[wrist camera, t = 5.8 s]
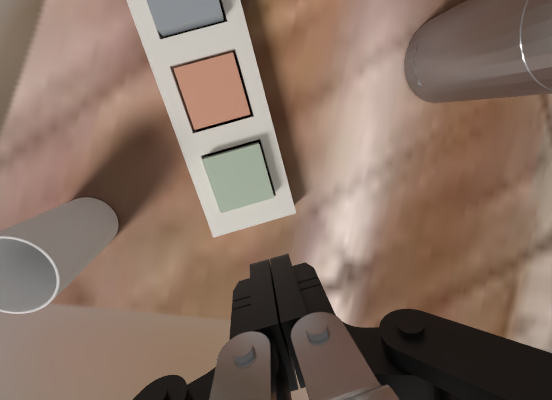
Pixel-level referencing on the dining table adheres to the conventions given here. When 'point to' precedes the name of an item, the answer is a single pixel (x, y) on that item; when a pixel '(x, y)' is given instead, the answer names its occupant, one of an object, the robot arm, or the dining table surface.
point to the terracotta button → (212, 90)
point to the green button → (238, 177)
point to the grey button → (184, 14)
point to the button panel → (197, 144)
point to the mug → (51, 252)
